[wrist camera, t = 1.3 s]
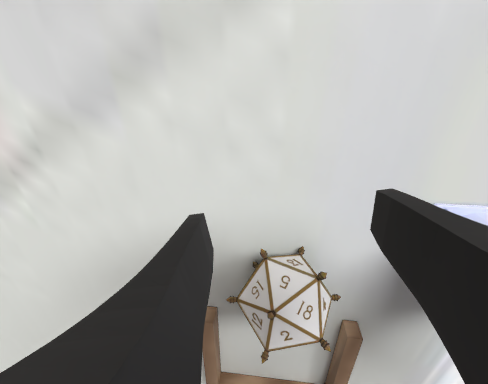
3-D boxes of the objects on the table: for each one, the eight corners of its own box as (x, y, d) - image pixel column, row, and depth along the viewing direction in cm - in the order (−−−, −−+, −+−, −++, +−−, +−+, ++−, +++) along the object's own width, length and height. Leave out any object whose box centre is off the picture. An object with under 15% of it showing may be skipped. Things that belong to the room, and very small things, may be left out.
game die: (299, 238, 27) (385, 307, 20) (257, 299, 28) (324, 389, 20) (247, 212, 21) (341, 296, 14) (195, 290, 22) (256, 412, 14)
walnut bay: (357, 321, 27) (363, 339, 25) (334, 392, 33) (337, 411, 31) (204, 305, 28) (199, 321, 26) (210, 376, 35) (207, 393, 33)
